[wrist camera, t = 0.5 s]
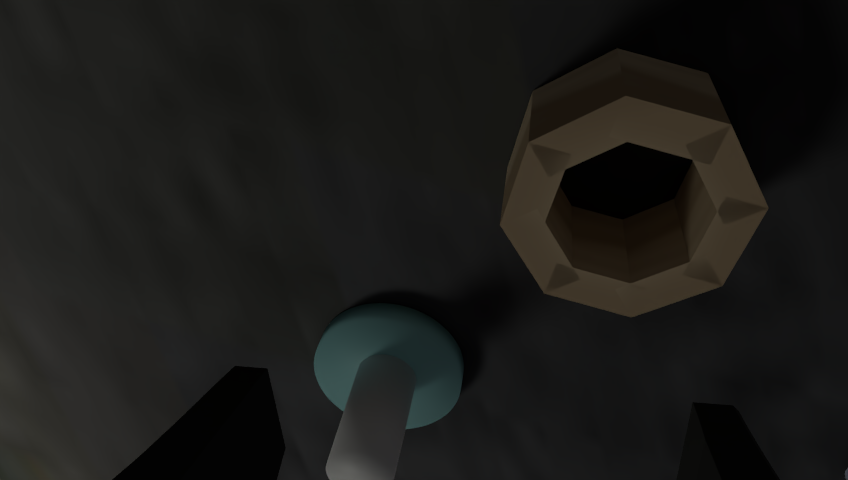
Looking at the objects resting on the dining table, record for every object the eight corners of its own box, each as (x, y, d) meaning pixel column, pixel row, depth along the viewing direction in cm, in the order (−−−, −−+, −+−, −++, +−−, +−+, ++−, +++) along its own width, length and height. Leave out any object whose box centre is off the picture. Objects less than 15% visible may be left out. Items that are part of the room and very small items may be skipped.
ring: (772, 90, 18) (806, 145, 15) (678, 266, 21) (693, 334, 19) (552, 30, 18) (551, 75, 15) (491, 215, 21) (482, 276, 19)
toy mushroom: (480, 327, 24) (464, 442, 20) (444, 426, 26) (424, 545, 22) (331, 286, 24) (285, 393, 20) (311, 390, 26) (268, 502, 23)
